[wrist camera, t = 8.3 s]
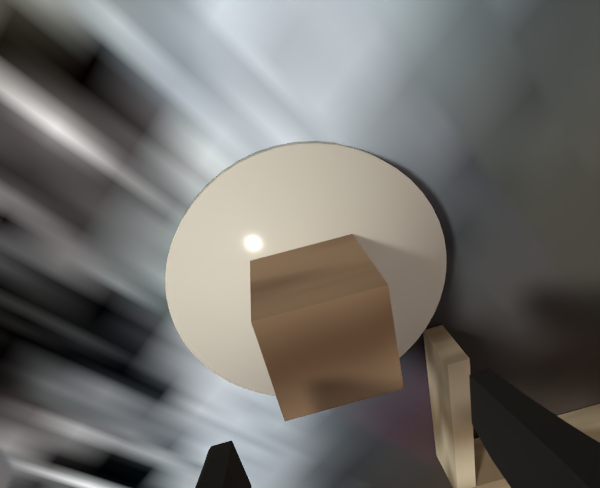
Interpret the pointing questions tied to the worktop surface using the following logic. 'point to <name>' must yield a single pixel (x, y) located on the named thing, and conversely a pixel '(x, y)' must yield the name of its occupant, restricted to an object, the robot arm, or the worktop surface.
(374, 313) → the walnut block
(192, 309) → the ceramic plate
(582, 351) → the worktop surface
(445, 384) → the wooden u-shaped frame
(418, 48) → the worktop surface
